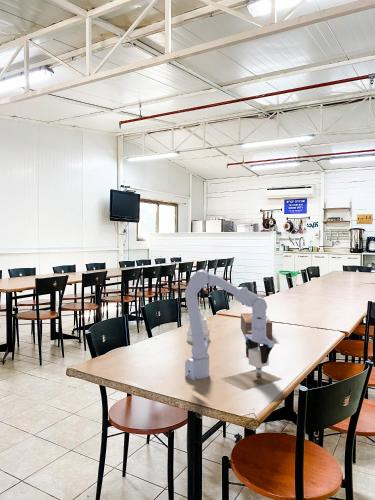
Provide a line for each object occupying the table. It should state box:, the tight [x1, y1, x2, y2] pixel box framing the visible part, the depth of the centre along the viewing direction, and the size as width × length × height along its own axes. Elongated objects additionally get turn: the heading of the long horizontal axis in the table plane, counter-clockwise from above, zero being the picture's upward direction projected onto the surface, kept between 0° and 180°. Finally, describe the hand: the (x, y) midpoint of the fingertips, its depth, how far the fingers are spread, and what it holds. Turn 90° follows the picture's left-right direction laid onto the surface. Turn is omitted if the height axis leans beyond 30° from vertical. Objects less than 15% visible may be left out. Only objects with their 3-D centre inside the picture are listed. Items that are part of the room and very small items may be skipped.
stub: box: [255, 367, 263, 378], centre depth 156 cm, size 2×2×4 cm
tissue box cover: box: [240, 312, 273, 341], centre depth 229 cm, size 26×14×10 cm, turn 179°
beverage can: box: [245, 330, 261, 357], centre depth 187 cm, size 7×7×12 cm
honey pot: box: [186, 306, 211, 343], centre depth 217 cm, size 13×13×18 cm
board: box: [220, 369, 282, 391], centre depth 154 cm, size 20×14×2 cm
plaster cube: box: [248, 347, 270, 368], centre depth 155 cm, size 6×6×6 cm
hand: (258, 361), depth 155 cm, fingers closed on plaster cube, 6 cm apart
